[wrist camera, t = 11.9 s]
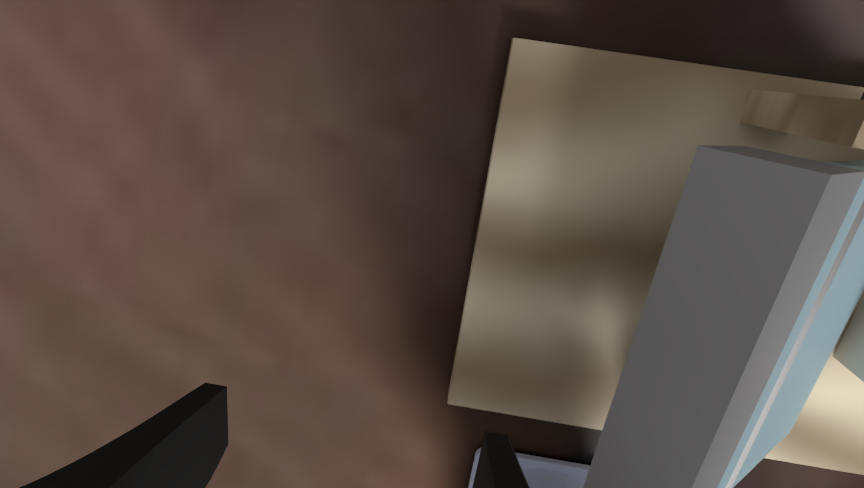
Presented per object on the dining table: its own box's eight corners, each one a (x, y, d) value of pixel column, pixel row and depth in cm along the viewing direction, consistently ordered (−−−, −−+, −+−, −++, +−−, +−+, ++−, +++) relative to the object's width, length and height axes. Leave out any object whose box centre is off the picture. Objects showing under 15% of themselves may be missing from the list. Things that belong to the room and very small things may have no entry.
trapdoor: (723, 393, 24) (792, 433, 22) (582, 488, 17) (662, 560, 15) (830, 147, 20) (931, 166, 17) (697, 145, 13) (836, 175, 11)
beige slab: (879, 464, 24) (1023, 607, 18) (448, 391, 25) (438, 503, 19) (1093, 121, 18) (1429, 153, 12) (511, 39, 19) (528, 26, 12)
